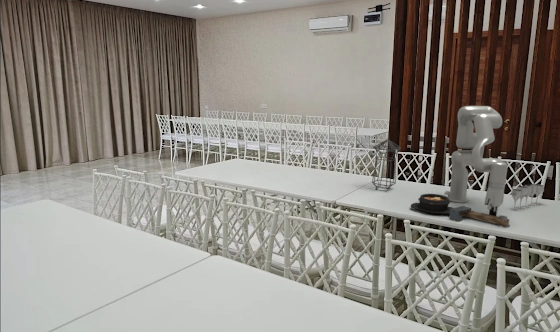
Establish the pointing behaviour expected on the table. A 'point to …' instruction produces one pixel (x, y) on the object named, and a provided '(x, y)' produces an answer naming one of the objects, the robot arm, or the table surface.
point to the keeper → (458, 212)
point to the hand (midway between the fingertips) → (492, 217)
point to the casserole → (433, 204)
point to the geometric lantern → (385, 160)
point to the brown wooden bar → (487, 217)
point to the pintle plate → (502, 225)
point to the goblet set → (526, 194)
